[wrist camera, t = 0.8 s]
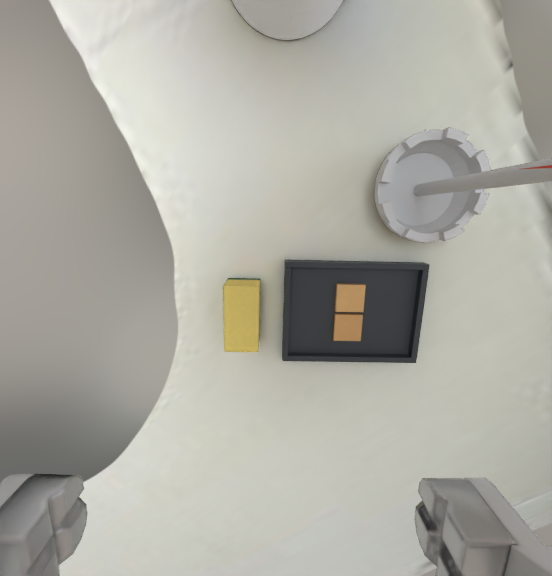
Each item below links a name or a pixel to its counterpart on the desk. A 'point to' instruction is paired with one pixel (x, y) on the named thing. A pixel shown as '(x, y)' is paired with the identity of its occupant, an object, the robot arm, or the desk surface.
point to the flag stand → (442, 184)
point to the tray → (376, 315)
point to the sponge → (241, 315)
